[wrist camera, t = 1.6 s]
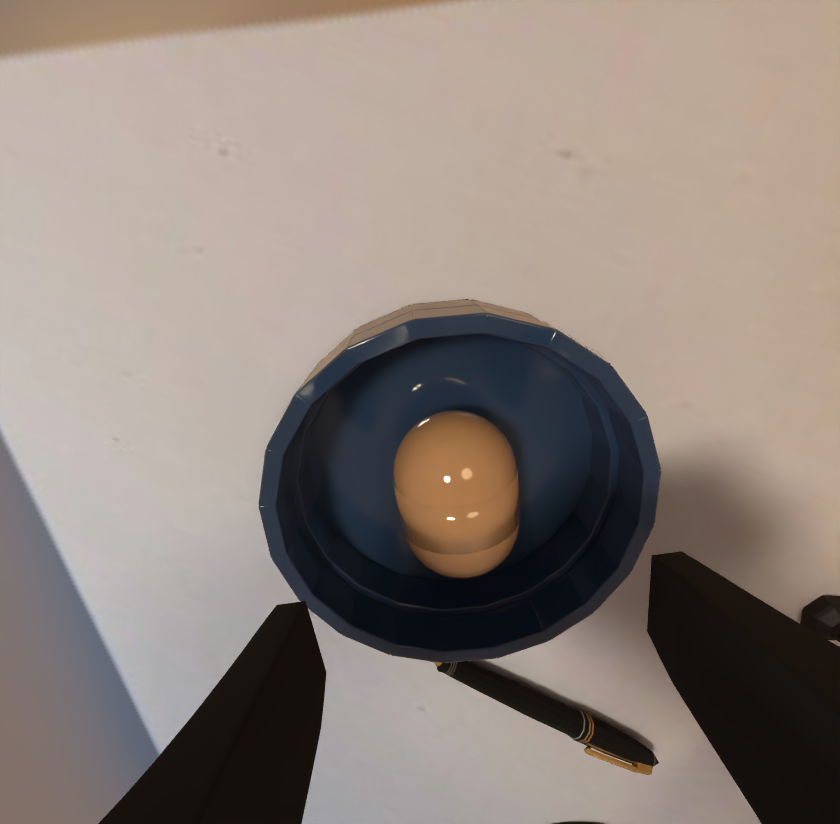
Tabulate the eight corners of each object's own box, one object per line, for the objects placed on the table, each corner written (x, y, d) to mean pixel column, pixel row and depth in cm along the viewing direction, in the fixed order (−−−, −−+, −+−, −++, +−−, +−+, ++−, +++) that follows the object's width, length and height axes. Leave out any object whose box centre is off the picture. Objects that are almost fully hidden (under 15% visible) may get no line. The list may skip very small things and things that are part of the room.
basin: (490, 625, 19) (508, 706, 16) (238, 510, 16) (197, 575, 13) (673, 408, 16) (744, 451, 12) (392, 226, 13) (388, 219, 10)
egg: (509, 523, 17) (538, 598, 13) (408, 536, 17) (409, 614, 13) (499, 386, 15) (529, 430, 11) (385, 401, 15) (379, 451, 11)
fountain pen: (400, 641, 19) (400, 672, 18) (415, 623, 19) (416, 654, 17) (643, 755, 22) (660, 790, 21) (660, 742, 22) (678, 776, 20)
